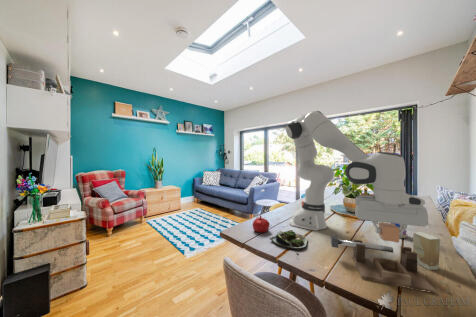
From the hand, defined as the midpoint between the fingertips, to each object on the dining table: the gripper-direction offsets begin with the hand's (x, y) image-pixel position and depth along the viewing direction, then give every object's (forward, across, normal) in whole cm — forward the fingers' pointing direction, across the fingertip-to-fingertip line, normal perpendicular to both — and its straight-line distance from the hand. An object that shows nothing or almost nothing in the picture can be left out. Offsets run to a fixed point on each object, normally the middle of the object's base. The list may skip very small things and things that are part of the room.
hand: (388, 234), depth 64 cm
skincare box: (+16, +16, +14) cm, 27 cm away
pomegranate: (+16, -54, +22) cm, 60 cm away
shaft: (+10, -7, +7) cm, 14 cm away
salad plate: (+16, -37, +14) cm, 42 cm away
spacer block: (+2, 0, 0) cm, 2 cm away
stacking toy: (+16, +18, +43) cm, 49 cm away
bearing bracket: (+16, +1, +3) cm, 16 cm away
